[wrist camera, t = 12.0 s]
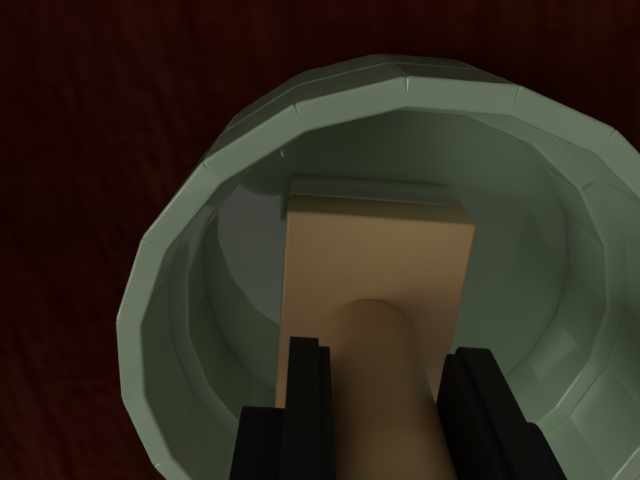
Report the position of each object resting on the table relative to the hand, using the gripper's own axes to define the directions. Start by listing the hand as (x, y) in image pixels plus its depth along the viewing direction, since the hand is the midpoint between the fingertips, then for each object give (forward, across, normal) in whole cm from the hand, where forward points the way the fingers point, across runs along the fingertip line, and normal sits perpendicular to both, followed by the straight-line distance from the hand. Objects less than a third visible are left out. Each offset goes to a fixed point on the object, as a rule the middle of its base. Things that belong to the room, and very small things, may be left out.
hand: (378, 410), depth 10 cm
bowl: (+6, -1, 0) cm, 6 cm away
